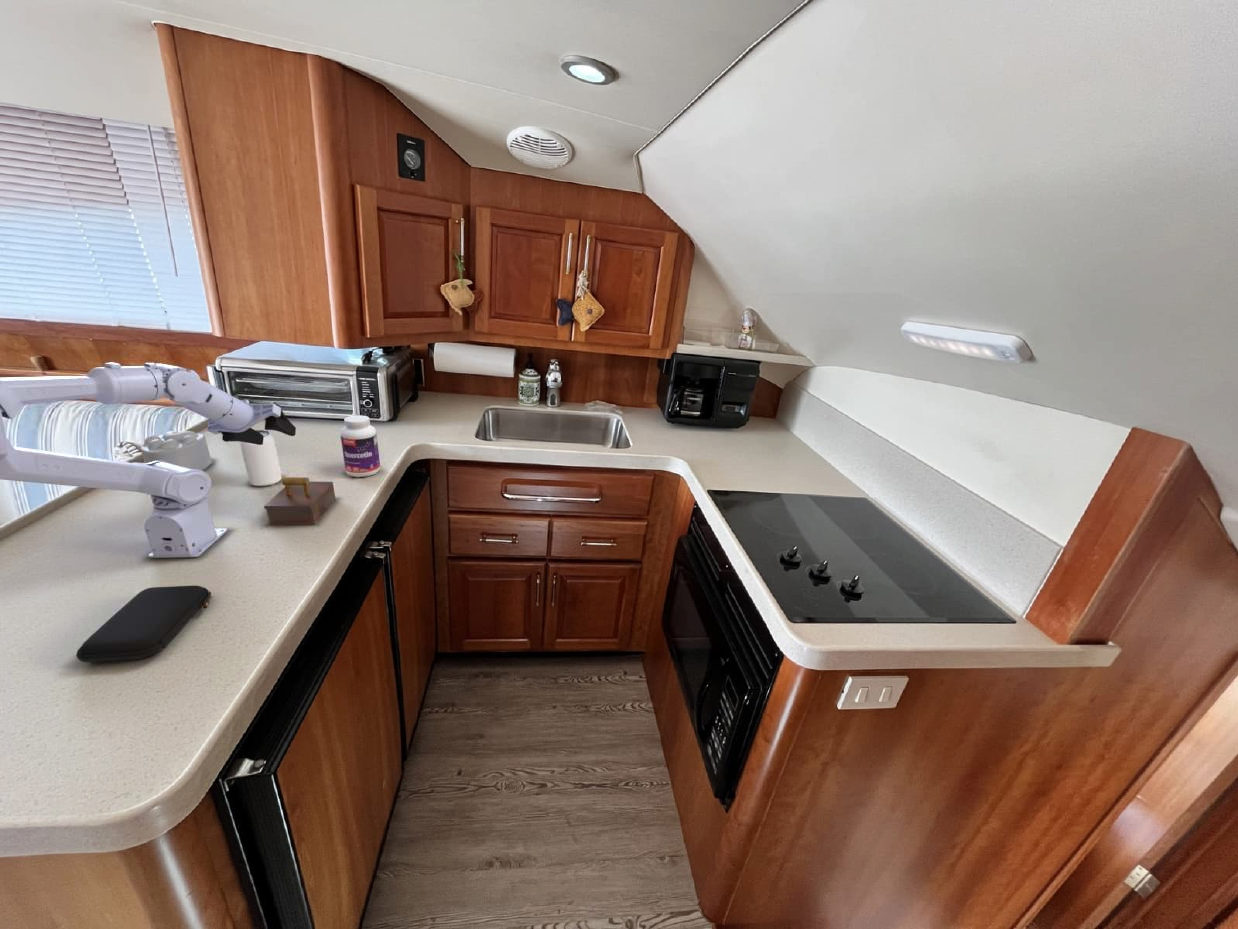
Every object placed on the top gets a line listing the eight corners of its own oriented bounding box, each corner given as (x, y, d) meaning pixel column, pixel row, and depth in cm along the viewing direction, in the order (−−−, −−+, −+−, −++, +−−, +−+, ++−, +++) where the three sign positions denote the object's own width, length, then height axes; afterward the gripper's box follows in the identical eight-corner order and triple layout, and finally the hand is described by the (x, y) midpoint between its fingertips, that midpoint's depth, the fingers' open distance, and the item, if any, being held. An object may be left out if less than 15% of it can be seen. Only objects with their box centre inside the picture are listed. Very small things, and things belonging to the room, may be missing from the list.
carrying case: (165, 663, 67) (224, 595, 80) (159, 646, 65) (220, 579, 79) (71, 670, 64) (148, 598, 78) (63, 652, 63) (142, 582, 77)
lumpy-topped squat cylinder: (217, 459, 126) (209, 427, 122) (188, 480, 114) (178, 446, 111) (170, 459, 124) (160, 427, 120) (135, 481, 112) (123, 446, 109)
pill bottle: (342, 479, 121) (333, 424, 115) (349, 466, 128) (342, 413, 123) (378, 478, 123) (371, 423, 118) (383, 465, 130) (377, 413, 125)
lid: (310, 509, 99) (307, 488, 98) (264, 509, 98) (259, 488, 96) (333, 484, 110) (330, 465, 108) (291, 484, 109) (287, 464, 107)
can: (266, 488, 114) (255, 440, 109) (242, 484, 115) (230, 436, 110) (288, 478, 119) (279, 431, 115) (266, 473, 120) (255, 427, 116)
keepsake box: (315, 524, 101) (312, 508, 100) (269, 524, 100) (265, 508, 98) (335, 499, 112) (333, 484, 110) (294, 499, 110) (291, 484, 109)
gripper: (255, 379, 93) (309, 411, 106) (188, 398, 95) (249, 428, 107) (252, 410, 91) (307, 440, 103) (183, 430, 92) (246, 457, 104)
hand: (278, 436), depth 105 cm, fingers open, 7 cm apart
